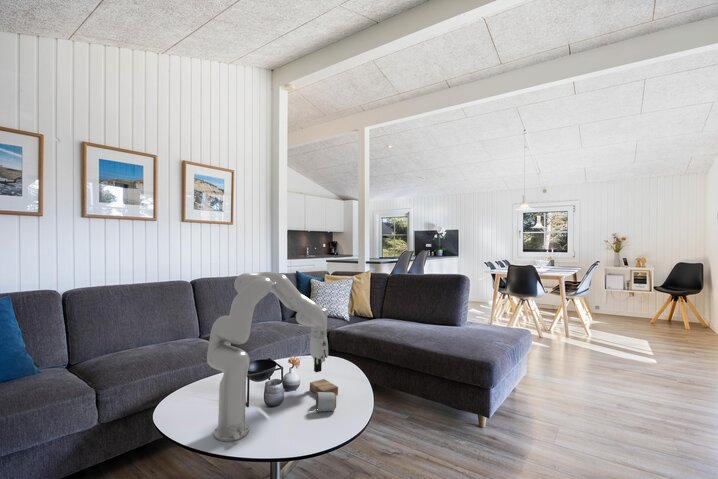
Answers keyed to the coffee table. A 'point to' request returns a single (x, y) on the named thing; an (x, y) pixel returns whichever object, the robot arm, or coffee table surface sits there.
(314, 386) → the slab
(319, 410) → the ceramic mug
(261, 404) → the coffee table surface
